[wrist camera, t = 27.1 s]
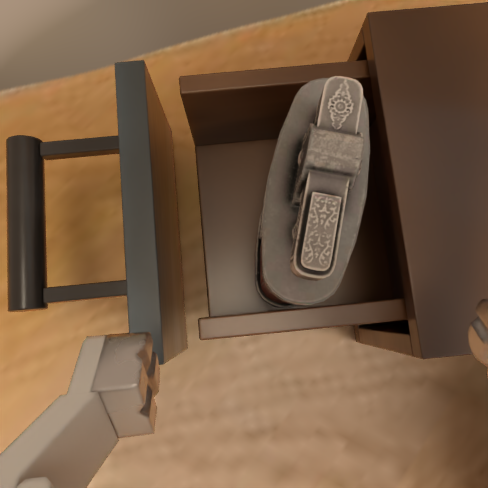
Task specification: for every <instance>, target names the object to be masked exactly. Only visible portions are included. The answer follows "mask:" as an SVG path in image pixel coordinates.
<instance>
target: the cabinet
mask: <svg viewBox="0 0 488 488" xmlns="http://www.w3.org/2000/svg"><path fill="white" fill-rule="evenodd" d="M361 60H368V66H369V73H370V79H371V86H372V92H373V98H374V105H375V111H376V118H377V124H378V131H379V137H380V143H381V150H382V156H383V163H384V169H385V176H386V182H387V188H388V195H389V201H390V208H391V214H392V221H393V227H394V233H395V240H396V246H397V253H398V259H399V266H400V272H401V278H402V285H403V291H404V298H405V304H406V311H407V317H408V320H400V321H390V322H380V323H370V324H360V325H354V330H355V337H356V342H359V343H362V344H366V345H370V346H374V347H378V348H382V349H386V350H390V351H394V352H398V353H402V354H406V355H410V356H414V357H417V358H421V359H430V358H440V357H450V356H460V355H470V354H473V353H472V351H471V348H470V345H469V341H468V330H469V327H470V323H471V322H473V321H474V320H475V319H476V318H477V317H478V314H477V313H476V311H475V309H476V306H477V304H478V302H479V301H480V300H482V299H486V298H488V2H486V3H474V4H462V5H450V6H439V7H427V8H415V9H403V10H392V11H380V12H369V13H367V15H366V18H365V20H364V23H363V25H362V28H361V30H360V33H359V35H358V37H357V40H356V42H355V44H354V47H353V49H352V52H351V54H350V56H349V59H348V61H347V62H349V61H361Z"/></svg>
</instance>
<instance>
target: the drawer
mask: <svg viewBox="0 0 488 488" xmlns="http://www.w3.org/2000/svg"><path fill="white" fill-rule="evenodd" d="M334 76H343V77H349V78H352V79H355V80H357V81H358V82H359V83H361V85H362V88H363V97H364V98H365V100H366V103H367V107H368V118H369V140H370V157H369V170H368V183H367V195H366V200H365V204H364V209H363V213H362V217H361V222H360V226H359V230H358V235H357V239H356V242H355V245H354V248H353V251H352V253H351V256H350V259H349V262H348V264H347V267H346V270H345V272H344V275H343V278H342V281H341V283H340V285H339V287H338V288H337V290H336V291H335V293H334V294H333V295H332V296H330V297H329V298H327V299H326V300H325V301H322V302H319V303H315V304H312V305H295V306H292V307H287V308H285V307H276V306H273V305H270V304H268V303H267V302H266V301H264V300H263V299H262V298H261V297H260V295H259V294H258V292H257V289H256V284H255V253H256V244H257V236H258V228H259V221H260V216H261V213H262V209H263V201H264V196H265V191H266V185H267V180H268V175H269V171H270V168H271V164H272V160H273V157H274V153H275V149H276V146H277V142H278V138H279V135H280V132H281V129H282V127H283V125H284V122H285V120H286V117H287V115H288V112H289V110H290V108H291V105H292V103H293V100H294V98H295V96H296V94H297V93H298V91H299V90H300V88H301V87H302V86H304V85H306V84H307V83H309V82H310V81H313V80H317V79H321V78H331V77H334ZM115 79H116V98H117V117H118V135H119V136H108V137H96V138H85V139H74V140H63V141H52V142H42V141H41V140H40V139H38V138H35V137H32V136H25V135H17V136H11V137H9V138H8V139H7V140H6V175H7V277H8V311H9V312H23V311H36V310H44V309H47V308H48V303H60V302H71V301H81V300H91V299H102V298H112V297H122V296H127V303H128V321H129V333H137V332H150V333H151V337H152V340H153V347H152V351H153V352H155V353H156V354H157V357H158V361H159V365H163V364H165V363H166V362H168V361H169V360H171V359H172V358H174V357H175V356H177V355H178V354H180V353H181V352H183V351H184V350H186V349H187V348H188V344H187V331H186V317H185V304H184V291H183V277H182V264H181V250H180V237H179V224H178V210H177V197H176V183H175V170H174V156H173V143H172V131H171V128H170V126H169V123H168V121H167V118H166V116H165V113H164V110H163V108H162V105H161V103H160V100H159V98H158V95H157V92H156V90H155V87H154V85H153V82H152V79H151V77H150V74H149V72H148V69H147V67H146V64H145V62H144V60H140V61H129V62H117V63H115ZM179 85H180V94H181V98H182V101H183V105H184V108H185V112H186V115H187V119H188V123H189V126H190V130H191V133H192V137H193V140H194V144H195V151H196V163H197V175H198V187H199V199H200V211H201V223H202V236H203V248H204V260H205V272H206V284H207V296H208V308H209V317H205V318H199V319H198V325H199V338H200V340H209V339H219V338H229V337H239V336H249V335H259V334H269V333H279V332H289V331H299V330H309V329H319V328H329V327H339V326H349V325H360V324H370V323H380V322H390V321H400V320H408V317H407V311H406V304H405V298H404V291H403V285H402V278H401V272H400V266H399V259H398V253H397V246H396V240H395V233H394V227H393V221H392V214H391V208H390V201H389V195H388V188H387V182H386V176H385V169H384V163H383V156H382V150H381V143H380V137H379V131H378V124H377V118H376V111H375V105H374V98H373V92H372V86H371V79H370V73H369V66H368V60H361V61H349V62H338V63H327V64H315V65H304V66H292V67H281V68H269V69H258V70H246V71H235V72H224V73H212V74H201V75H189V76H180V77H179ZM109 154H120V172H121V191H122V210H123V228H124V247H125V266H126V280H120V281H110V282H100V283H89V284H79V285H69V286H58V287H48V288H47V255H46V214H45V173H44V159H45V160H54V159H65V158H76V157H87V156H98V155H109Z"/></svg>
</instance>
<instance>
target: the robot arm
mask: <svg viewBox="0 0 488 488" xmlns="http://www.w3.org/2000/svg"><path fill="white" fill-rule="evenodd" d="M475 311H476V313H477V314H478V317H477V318H476V319H475V320H474V321H473V322H471V323H470V327H469V330H468V341H469V345H470V348H471V351H472V353H473V354H474V356H475V358H476V359H477V360H478V361H479V362H481V363H482V364H484V365H486V366H487V367H488V298H486V299H482V300H480V301H479V302H478V304H477V306H476V309H475ZM152 347H153V340H152V337H151V333H150V332H137V333H123V334H109V335H100V336H87V337H86V339H85V340H84V341H83V343H82V346H81V350H80V353H79V356H78V359H77V362H76V366H75V369H74V372H73V375H72V378H71V382H70V385H69V388H68V391H67V394H66V395H60V396H59V397H58V398H57V399H56V400H55V401H54V402H53V403H52V404H51V405H50V406H49V407H48V408H47V409H46V410H45V411H44V412H43V413H42V414H41V415H40V416H39V417H38V418H37V419H36V420H35V421H34V422H33V423H32V424H30V425H29V426H28V427H27V428H26V429H25V430H24V431H23V432H22V433H21V434H20V435H19V436H18V437H17V438H16V439H15V440H14V441H13V442H12V443H11V444H10V445H9V446H8V447H7V448H6V449H5V450H4V451H3V452H2V453H1V454H0V488H86V487H87V486H88V484H89V483H90V481H91V480H92V478H93V477H94V475H95V474H96V473H97V471H98V470H99V468H100V467H101V465H102V464H103V462H104V461H105V460H106V458H107V457H108V455H109V454H110V452H111V451H112V449H113V448H114V446H115V445H116V444H117V442H118V441H119V440H118V438H123V437H131V436H139V435H147V434H154V431H155V422H156V414H157V406H156V403H155V399H154V397H155V396H156V395H157V393H158V392H159V385H160V368H159V361H158V357H157V354H156V353H155V352H153V351H152ZM487 377H488V370H487Z"/></svg>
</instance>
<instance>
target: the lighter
mask: <svg viewBox="0 0 488 488" xmlns="http://www.w3.org/2000/svg"><path fill="white" fill-rule="evenodd" d="M369 157H370V140H369V118H368V107H367V103H366V100H365V98H364V97H363V88H362V85H361V83H359V82H358V81H357V80H355V79H352V78H349V77H343V76H334V77H331V78H321V79H317V80H313V81H310V82H309V83H307V84H306V85H304V86H302V87H301V88H300V90H299V91H298V93H297V94H296V96H295V98H294V100H293V103H292V105H291V108H290V110H289V112H288V115H287V117H286V120H285V122H284V125H283V127H282V129H281V132H280V135H279V138H278V142H277V146H276V149H275V153H274V157H273V160H272V164H271V168H270V171H269V175H268V180H267V185H266V191H265V196H264V201H263V209H262V213H261V216H260V221H259V228H258V236H257V244H256V253H255V284H256V289H257V292H258V294H259V295H260V297H261V298H262V299H263V300H264V301H266V302H267V303H268V304H270V305H273V306H276V307H285V308H287V307H292V306H295V305H312V304H315V303H319V302H322V301H325V300H326V299H327V298H329V297H330V296H332V295H333V294H334V293H335V291H336V290H337V288H338V287H339V285H340V283H341V281H342V278H343V275H344V272H345V270H346V267H347V264H348V262H349V259H350V256H351V253H352V251H353V248H354V245H355V242H356V239H357V235H358V230H359V226H360V222H361V217H362V213H363V209H364V204H365V200H366V195H367V183H368V170H369Z"/></svg>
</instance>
